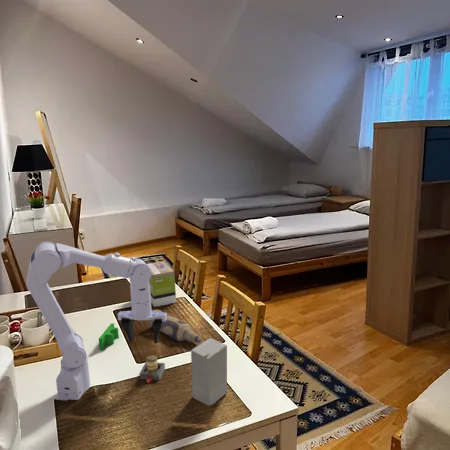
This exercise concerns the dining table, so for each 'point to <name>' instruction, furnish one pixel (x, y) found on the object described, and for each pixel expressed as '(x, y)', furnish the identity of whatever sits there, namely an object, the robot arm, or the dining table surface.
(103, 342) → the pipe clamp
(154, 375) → the stand base
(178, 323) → the decorative bottle
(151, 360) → the small wooden barrel
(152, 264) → the tea box
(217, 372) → the skincare box
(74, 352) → the robot arm
